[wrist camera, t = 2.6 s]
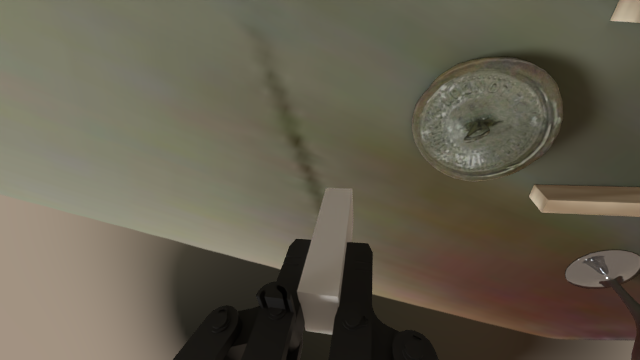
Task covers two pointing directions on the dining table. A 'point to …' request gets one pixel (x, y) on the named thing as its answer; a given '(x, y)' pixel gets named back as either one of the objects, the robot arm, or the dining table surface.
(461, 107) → the lid
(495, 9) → the dining table surface
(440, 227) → the dining table surface
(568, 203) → the wooden u-shaped frame
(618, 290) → the wine glass
